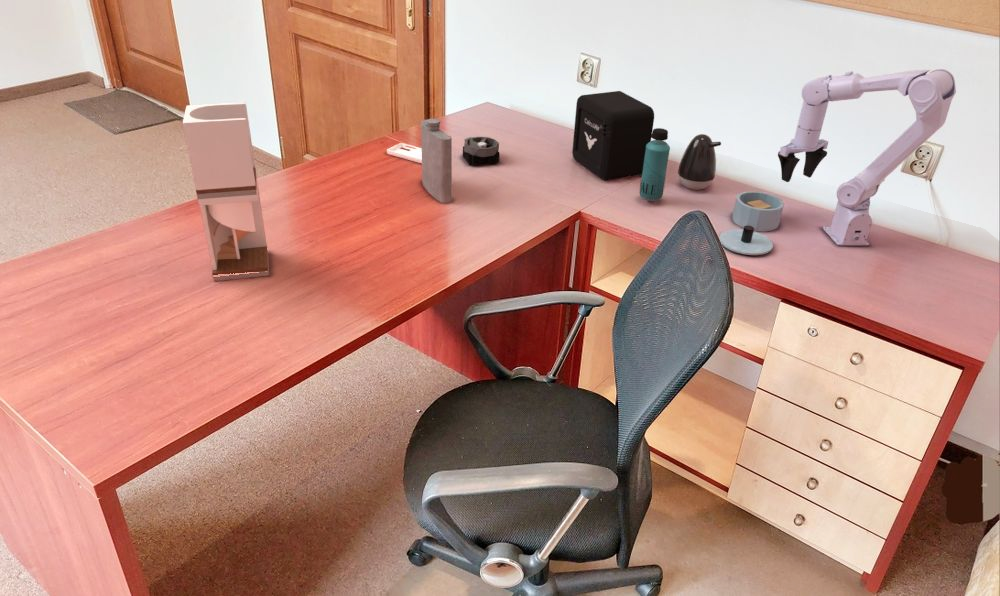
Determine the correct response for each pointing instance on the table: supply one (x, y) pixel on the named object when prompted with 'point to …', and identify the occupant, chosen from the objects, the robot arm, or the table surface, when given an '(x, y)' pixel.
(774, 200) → the tin
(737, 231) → the lid
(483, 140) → the cpu cooler
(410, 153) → the phone case
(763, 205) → the block
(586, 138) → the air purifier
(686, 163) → the pump dispenser
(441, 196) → the hip flask
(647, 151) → the beverage bottle
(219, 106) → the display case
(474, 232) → the table surface
